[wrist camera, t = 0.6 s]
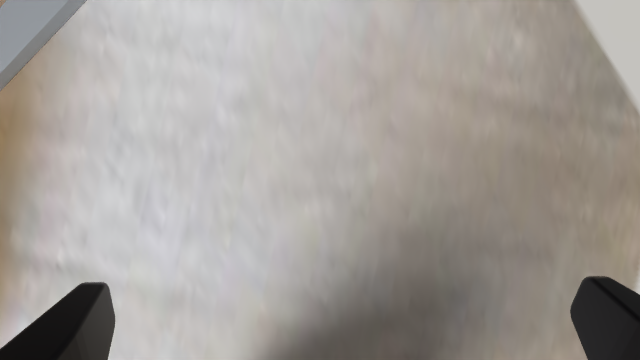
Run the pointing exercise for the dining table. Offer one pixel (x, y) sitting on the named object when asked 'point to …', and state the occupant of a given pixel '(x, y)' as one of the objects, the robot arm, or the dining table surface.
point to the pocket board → (29, 30)
